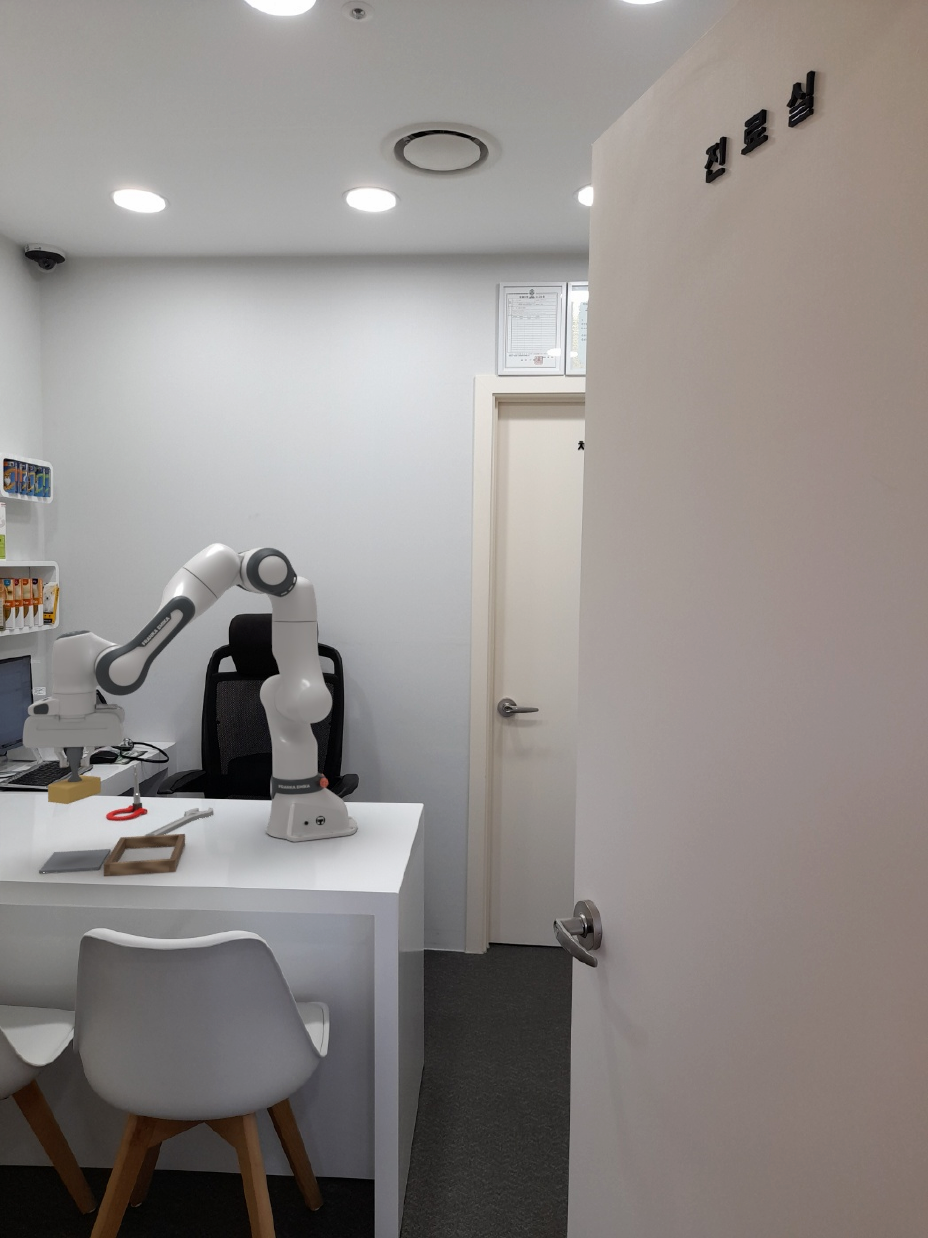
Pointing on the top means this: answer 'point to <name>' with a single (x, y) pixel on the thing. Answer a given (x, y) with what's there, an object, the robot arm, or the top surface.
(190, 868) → the top surface
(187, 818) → the adjustable wrench
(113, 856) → the wooden frame
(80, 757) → the rubber stamp
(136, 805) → the tow hook
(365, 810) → the top surface
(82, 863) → the slate mat
